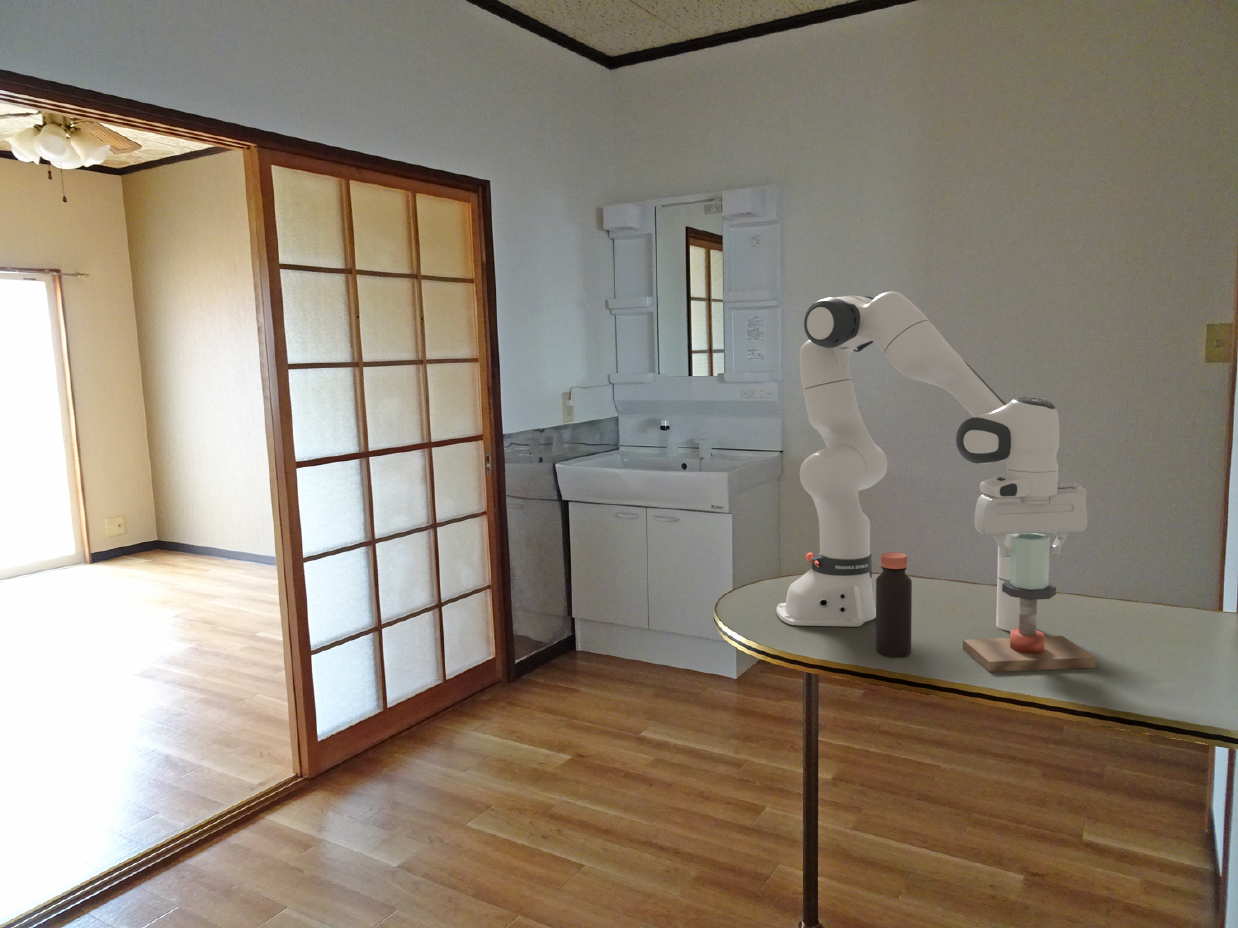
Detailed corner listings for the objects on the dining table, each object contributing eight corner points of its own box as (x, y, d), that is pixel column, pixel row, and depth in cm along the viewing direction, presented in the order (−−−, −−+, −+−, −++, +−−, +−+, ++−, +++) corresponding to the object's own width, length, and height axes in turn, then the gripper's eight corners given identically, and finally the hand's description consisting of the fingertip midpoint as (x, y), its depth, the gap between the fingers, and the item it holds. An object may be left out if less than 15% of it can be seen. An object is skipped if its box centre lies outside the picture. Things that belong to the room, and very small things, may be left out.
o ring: (1016, 600, 161) (1016, 592, 161) (996, 587, 170) (996, 579, 170) (1062, 598, 161) (1062, 590, 161) (1039, 585, 170) (1040, 578, 170)
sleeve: (1020, 589, 162) (1021, 540, 161) (1005, 580, 168) (1006, 533, 167) (1053, 588, 162) (1054, 539, 161) (1037, 579, 169) (1038, 532, 167)
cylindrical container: (1036, 632, 181) (1040, 515, 178) (1000, 631, 183) (1003, 515, 179) (1027, 621, 188) (1031, 509, 185) (992, 620, 190) (995, 509, 186)
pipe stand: (988, 671, 161) (990, 589, 159) (962, 649, 173) (964, 571, 171) (1095, 667, 162) (1098, 584, 159) (1061, 645, 173) (1064, 567, 171)
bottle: (899, 644, 177) (900, 549, 174) (917, 656, 171) (918, 557, 168) (869, 648, 176) (869, 552, 173) (886, 659, 169) (887, 560, 166)
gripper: (1077, 479, 166) (1075, 549, 168) (971, 483, 166) (970, 553, 168) (1095, 484, 160) (1093, 557, 162) (985, 488, 159) (984, 561, 161)
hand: (1029, 555), depth 165 cm, fingers open, 8 cm apart
